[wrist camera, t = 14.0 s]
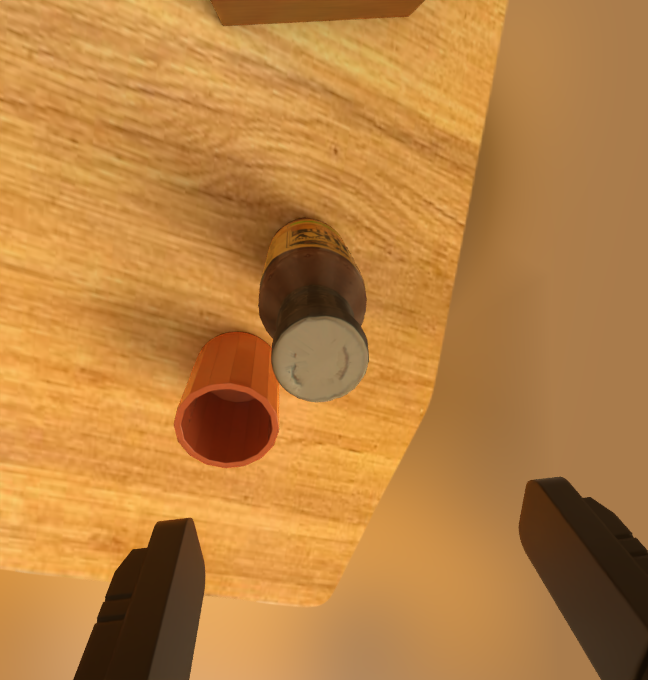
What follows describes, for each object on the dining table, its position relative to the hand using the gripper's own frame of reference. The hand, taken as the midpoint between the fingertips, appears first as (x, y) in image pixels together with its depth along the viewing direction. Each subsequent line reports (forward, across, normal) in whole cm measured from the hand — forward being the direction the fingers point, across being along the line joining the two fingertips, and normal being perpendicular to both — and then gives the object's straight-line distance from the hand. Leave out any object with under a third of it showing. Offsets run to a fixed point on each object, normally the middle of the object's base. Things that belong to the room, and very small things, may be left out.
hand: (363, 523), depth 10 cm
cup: (+28, +7, +10) cm, 30 cm away
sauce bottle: (+28, 0, 0) cm, 28 cm away
